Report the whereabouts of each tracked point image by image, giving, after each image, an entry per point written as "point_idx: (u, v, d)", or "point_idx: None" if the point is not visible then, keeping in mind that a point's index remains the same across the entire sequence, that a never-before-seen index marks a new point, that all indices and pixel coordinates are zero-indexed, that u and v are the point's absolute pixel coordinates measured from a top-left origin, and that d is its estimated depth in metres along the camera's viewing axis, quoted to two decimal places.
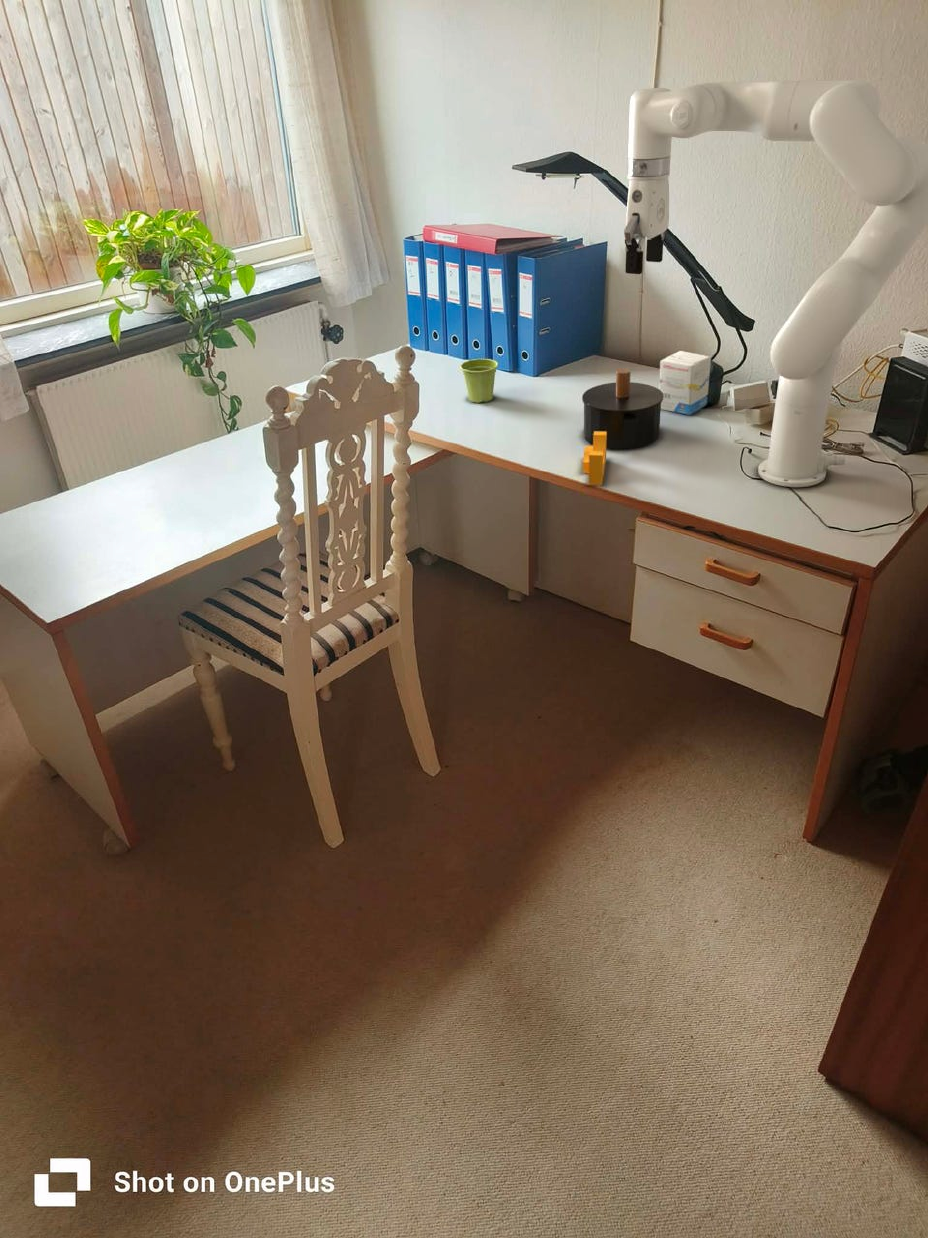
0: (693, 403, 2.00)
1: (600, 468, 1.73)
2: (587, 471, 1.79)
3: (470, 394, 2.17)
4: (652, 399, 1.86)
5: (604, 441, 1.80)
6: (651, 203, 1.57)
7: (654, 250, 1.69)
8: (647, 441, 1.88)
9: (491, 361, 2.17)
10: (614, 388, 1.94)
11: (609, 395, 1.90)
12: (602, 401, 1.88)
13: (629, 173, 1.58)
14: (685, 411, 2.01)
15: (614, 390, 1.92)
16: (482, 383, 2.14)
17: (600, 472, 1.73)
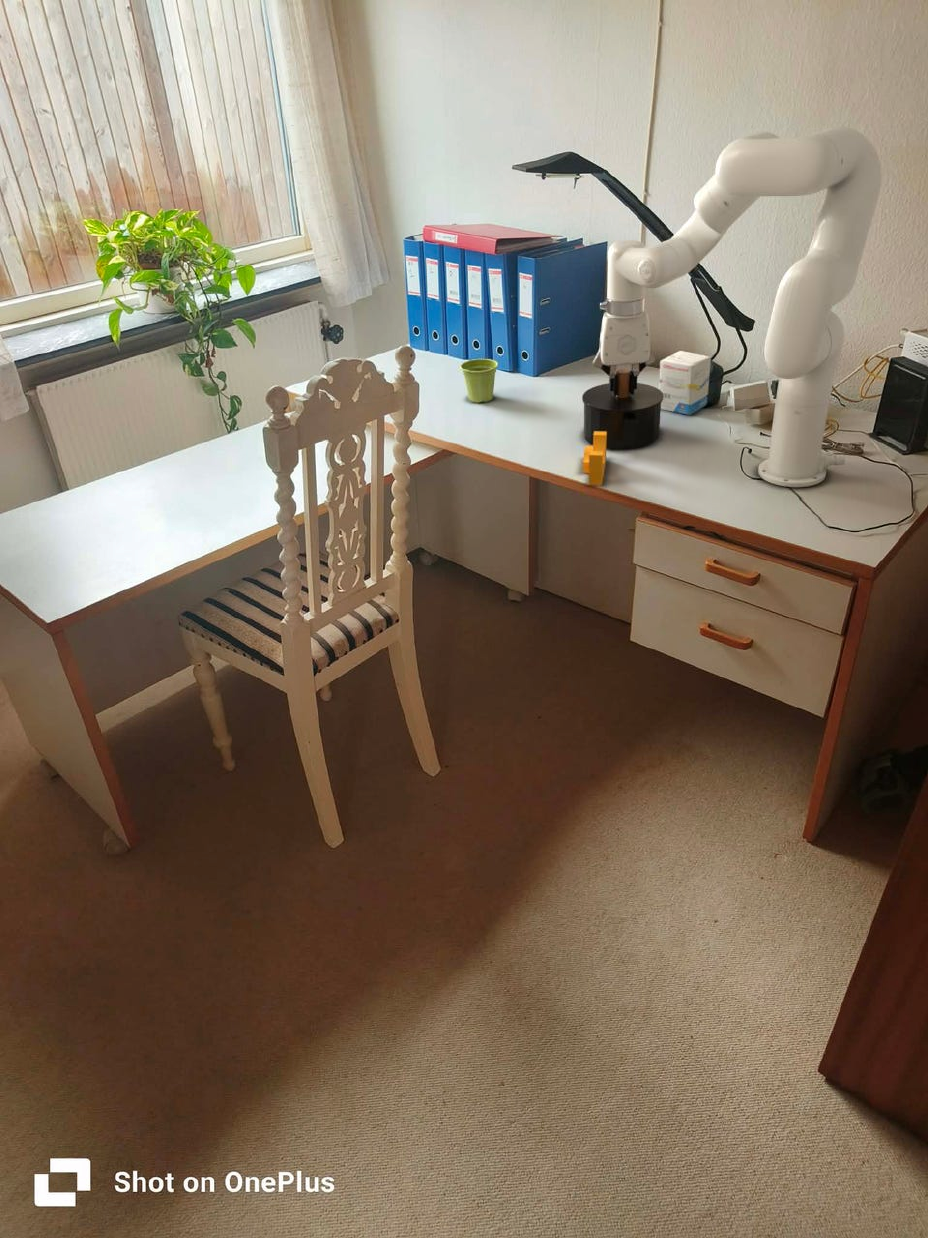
0: (693, 403, 2.00)
1: (600, 468, 1.73)
2: (587, 471, 1.79)
3: (470, 394, 2.17)
4: (652, 399, 1.86)
5: (604, 441, 1.80)
6: (607, 337, 1.80)
7: None
8: (647, 441, 1.88)
9: (491, 361, 2.17)
10: None
11: (609, 395, 1.90)
12: (602, 401, 1.88)
13: None
14: (685, 411, 2.01)
15: None
16: (482, 383, 2.14)
17: (600, 472, 1.73)
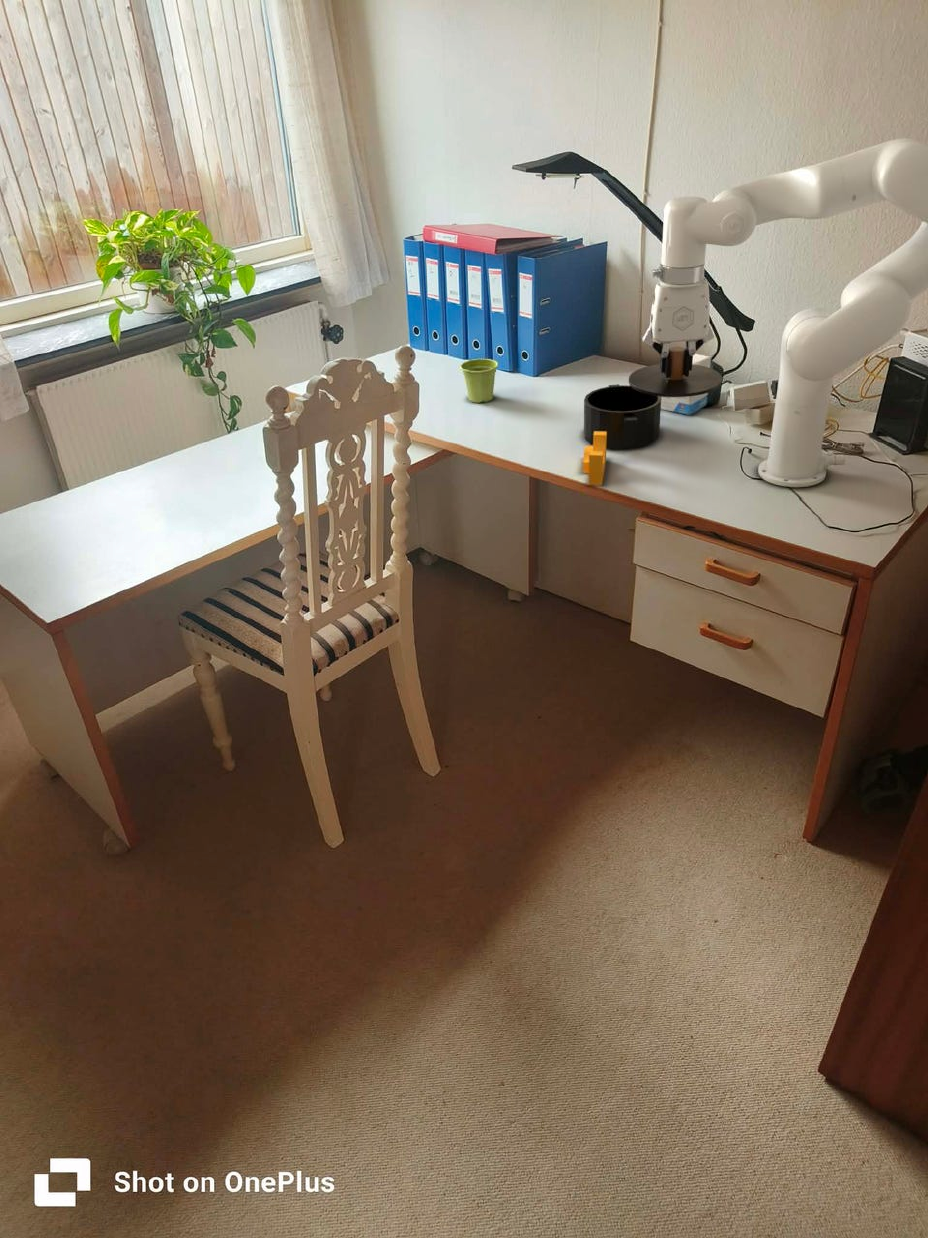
0: (693, 403, 2.00)
1: (600, 468, 1.73)
2: (587, 471, 1.79)
3: (470, 394, 2.17)
4: (710, 381, 1.63)
5: (604, 441, 1.80)
6: (661, 309, 1.56)
7: None
8: (647, 441, 1.88)
9: (491, 361, 2.17)
10: None
11: (660, 378, 1.67)
12: (652, 384, 1.64)
13: None
14: (685, 411, 2.01)
15: None
16: (482, 383, 2.14)
17: (600, 472, 1.73)
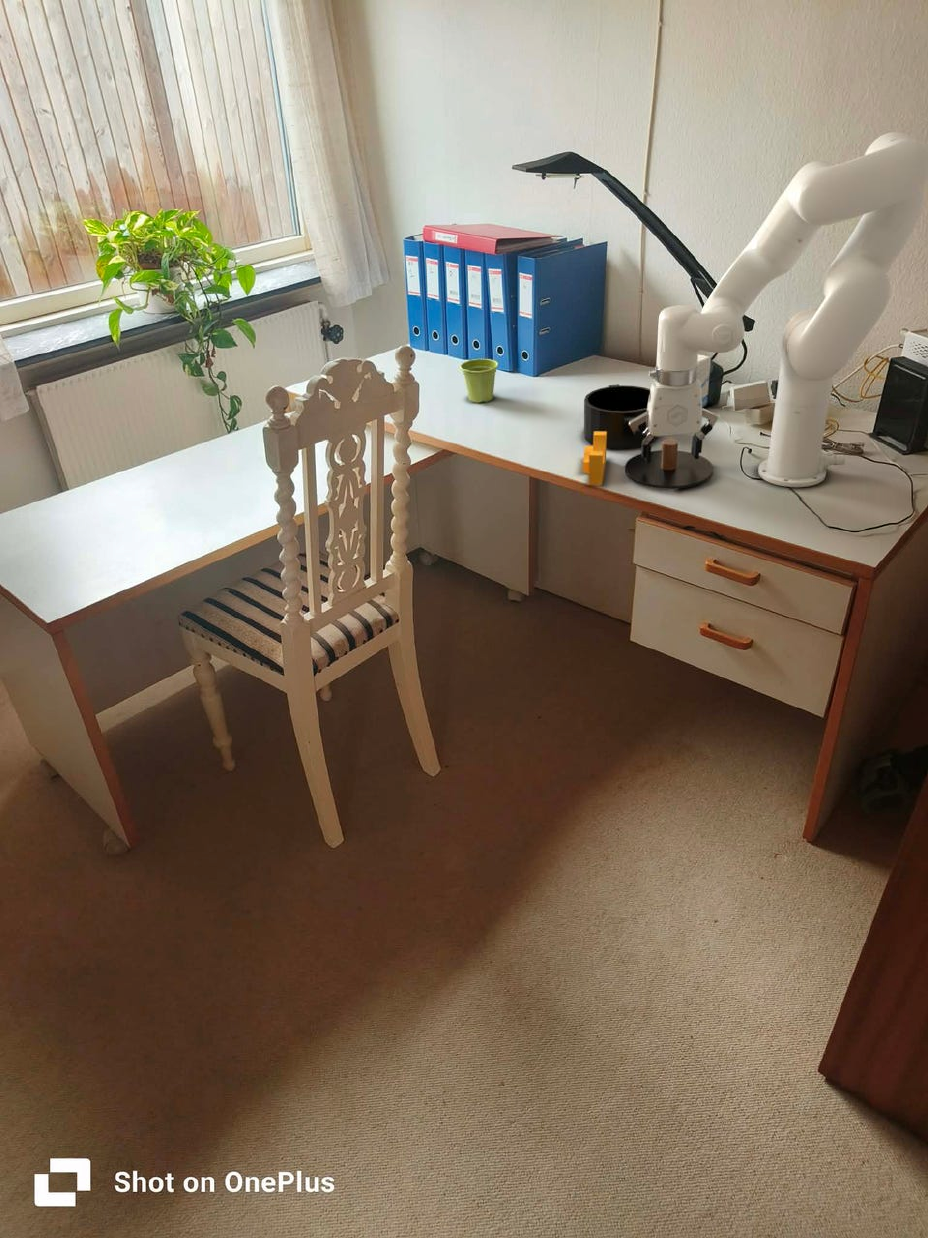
0: None
1: (600, 468, 1.73)
2: (587, 471, 1.79)
3: (470, 394, 2.17)
4: (701, 472, 1.74)
5: (604, 441, 1.80)
6: (656, 407, 1.67)
7: (693, 447, 1.74)
8: None
9: (491, 361, 2.17)
10: (658, 457, 1.81)
11: (654, 467, 1.77)
12: (647, 474, 1.75)
13: None
14: None
15: (659, 460, 1.79)
16: (482, 383, 2.14)
17: (600, 472, 1.73)
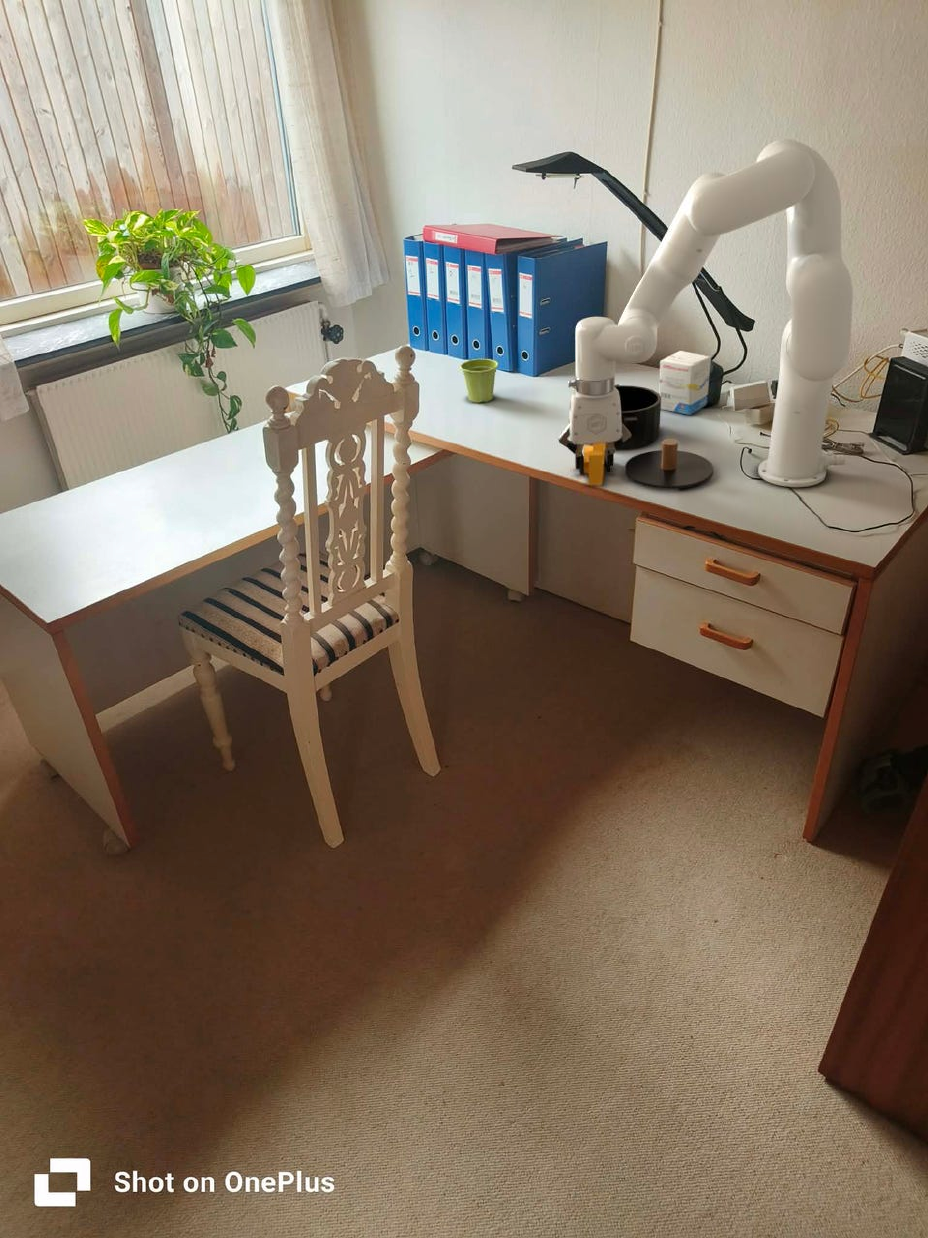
0: (693, 403, 2.00)
1: (600, 468, 1.73)
2: (587, 471, 1.79)
3: (470, 394, 2.17)
4: (701, 472, 1.74)
5: None
6: (576, 416, 1.70)
7: (605, 460, 1.78)
8: (647, 441, 1.88)
9: (491, 361, 2.17)
10: (658, 457, 1.81)
11: (654, 467, 1.77)
12: (647, 474, 1.75)
13: None
14: (685, 411, 2.01)
15: (659, 460, 1.79)
16: (482, 383, 2.14)
17: (600, 472, 1.73)
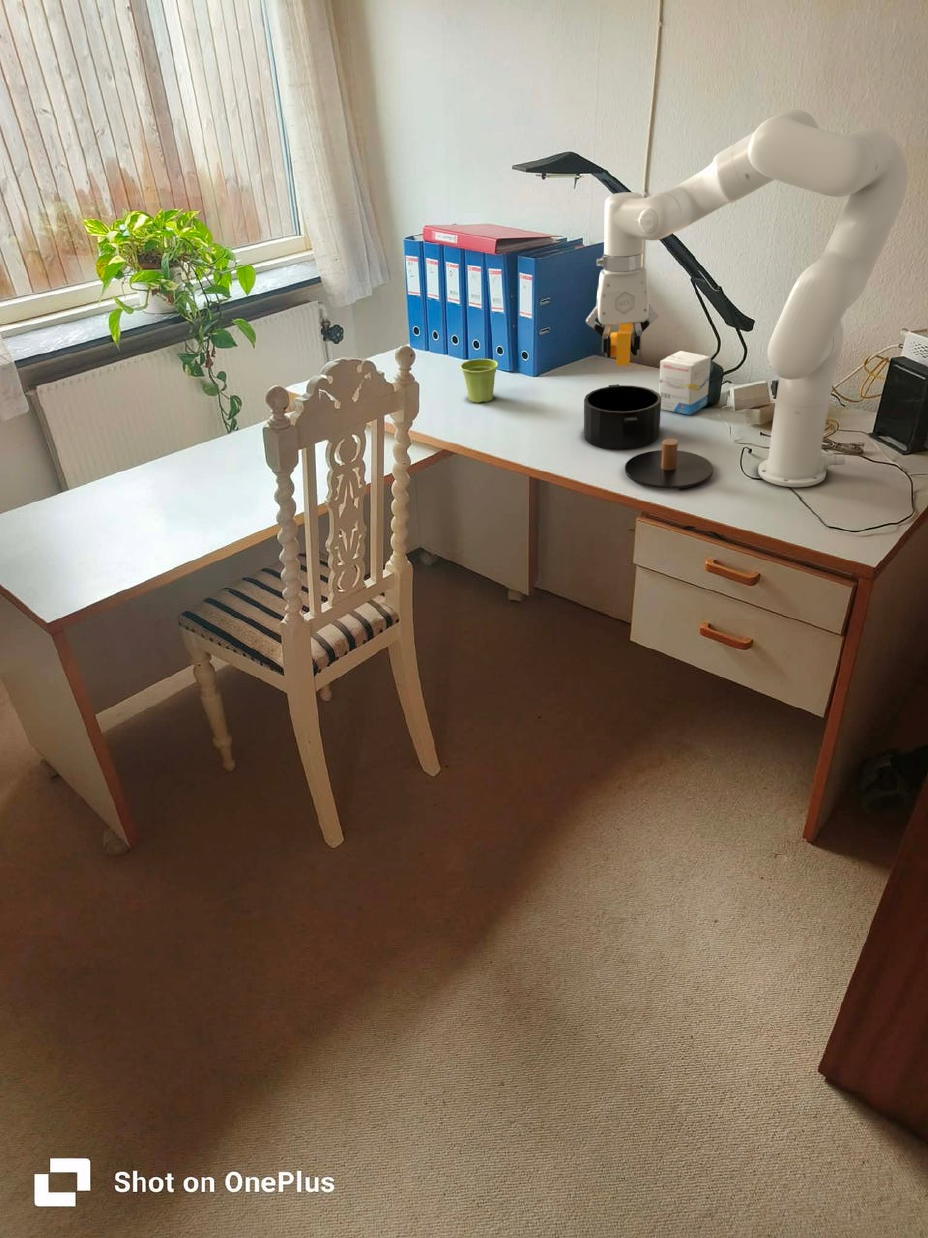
0: (693, 403, 2.00)
1: (628, 347, 1.75)
2: (613, 355, 1.82)
3: (470, 394, 2.17)
4: (701, 472, 1.74)
5: (630, 325, 1.82)
6: (605, 294, 1.73)
7: (632, 343, 1.80)
8: (647, 441, 1.88)
9: (491, 361, 2.17)
10: (658, 457, 1.81)
11: (654, 467, 1.77)
12: (647, 474, 1.75)
13: None
14: (685, 411, 2.01)
15: (659, 460, 1.79)
16: (482, 383, 2.14)
17: (627, 352, 1.75)
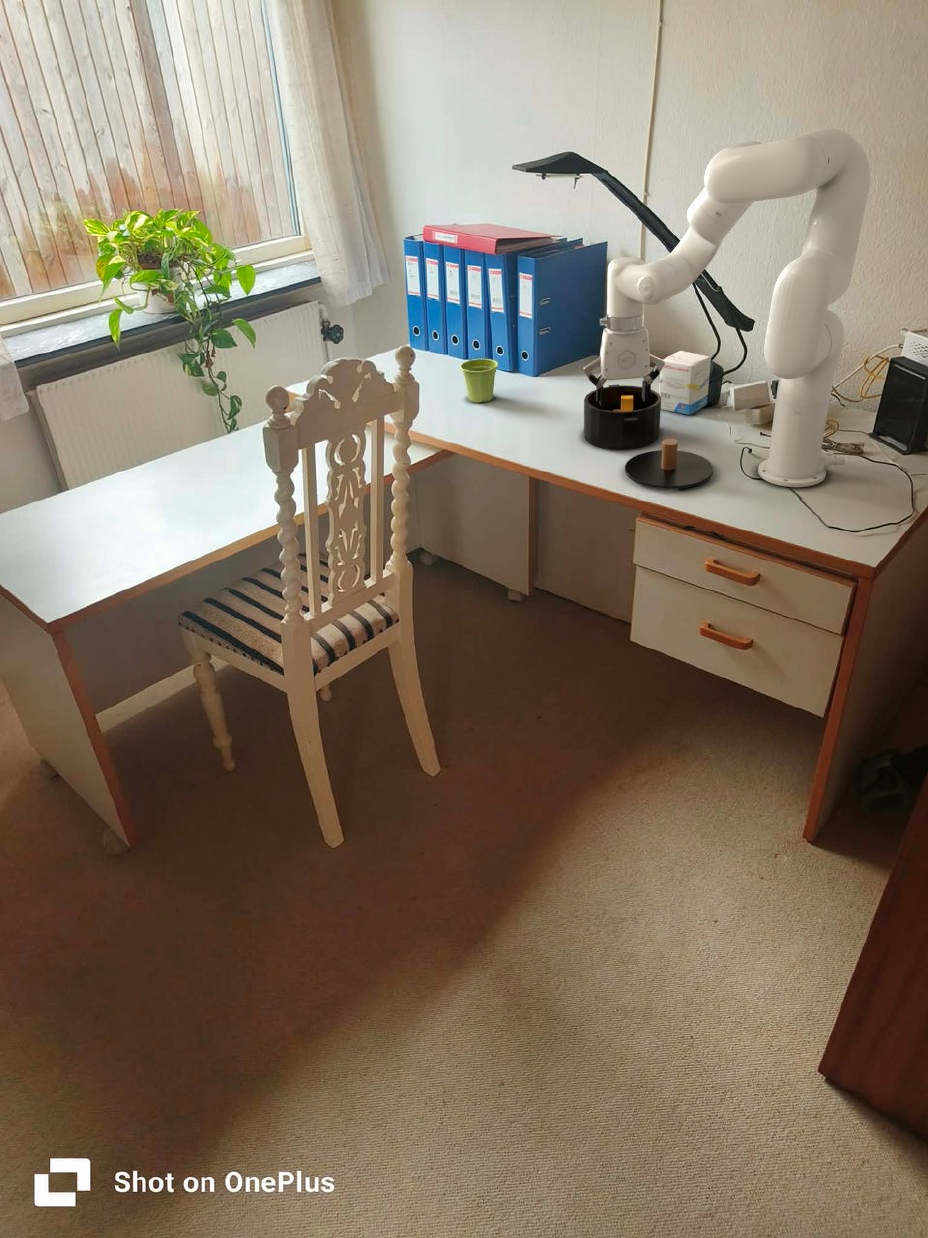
0: (693, 403, 2.00)
1: None
2: None
3: (470, 394, 2.17)
4: (701, 472, 1.74)
5: (631, 404, 1.94)
6: (607, 352, 1.81)
7: (643, 391, 1.89)
8: (647, 441, 1.88)
9: (491, 361, 2.17)
10: (658, 457, 1.81)
11: (654, 467, 1.77)
12: (647, 474, 1.75)
13: None
14: (685, 411, 2.01)
15: (659, 460, 1.79)
16: (482, 383, 2.14)
17: None
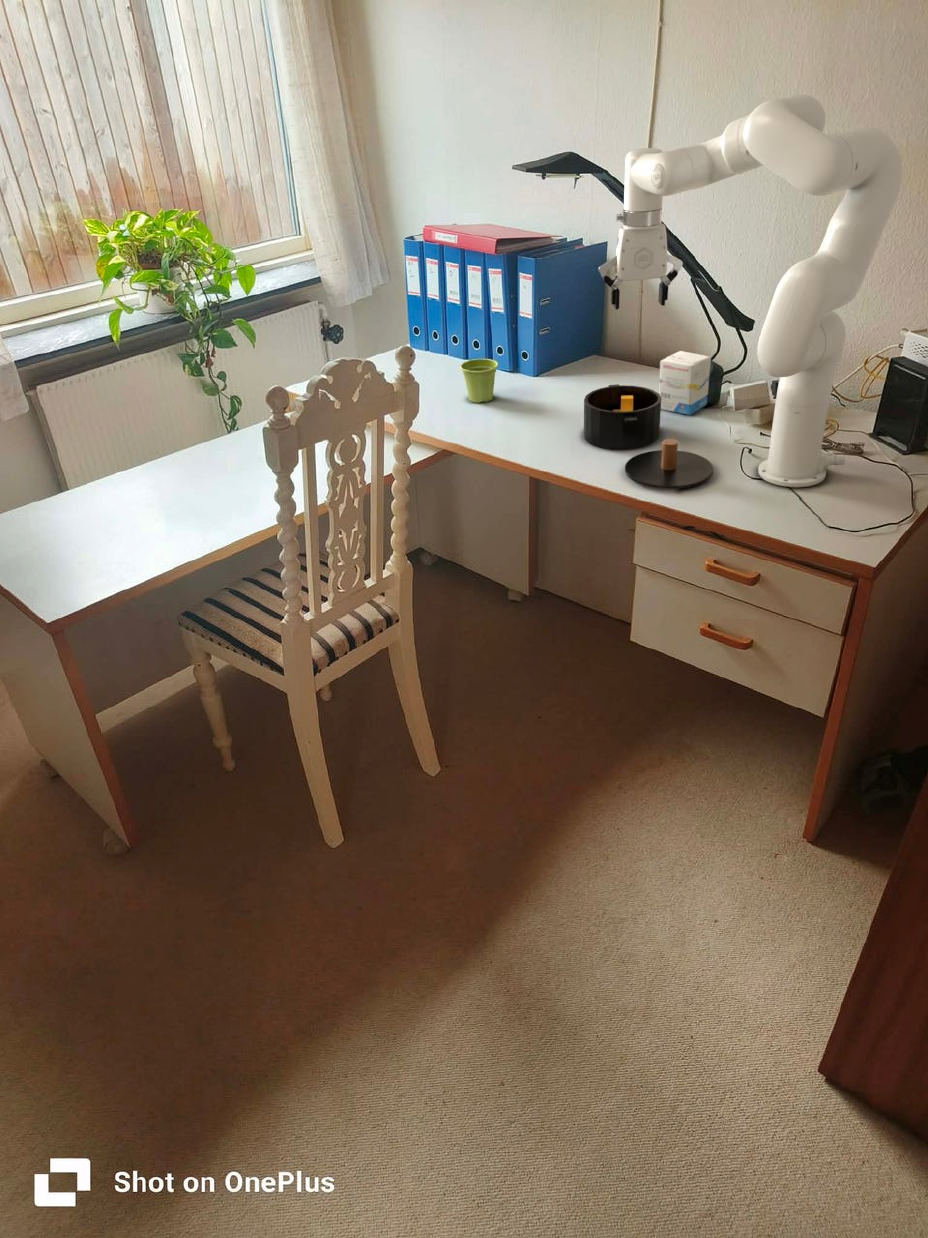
0: (693, 403, 2.00)
1: None
2: None
3: (470, 394, 2.17)
4: (701, 472, 1.74)
5: (631, 404, 1.94)
6: (624, 250, 1.76)
7: (660, 293, 1.83)
8: (647, 441, 1.88)
9: (491, 361, 2.17)
10: (658, 457, 1.81)
11: (654, 467, 1.77)
12: (647, 474, 1.75)
13: None
14: (685, 411, 2.01)
15: (659, 460, 1.79)
16: (482, 383, 2.14)
17: None
